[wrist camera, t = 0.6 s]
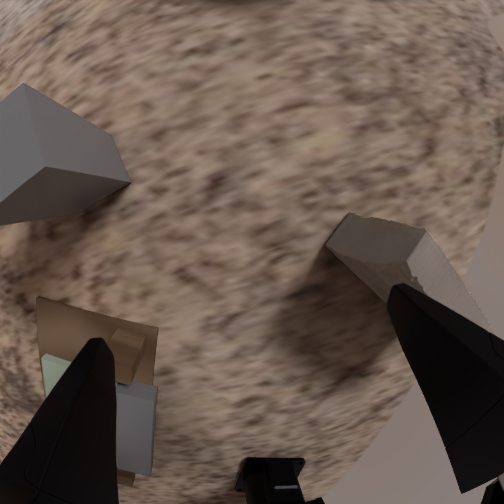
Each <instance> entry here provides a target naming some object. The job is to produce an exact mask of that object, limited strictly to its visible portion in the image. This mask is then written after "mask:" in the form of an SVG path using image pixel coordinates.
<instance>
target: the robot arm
mask: <svg viewBox="0 0 504 504" xmlns="http://www.w3.org/2000/svg"><path fill="white" fill-rule="evenodd" d="M387 311H388V313H389V316H390V318H391V321H392V324H393V326H394V329H395V332H396V334H397V337H398V340H399V342H400V345H401V347H402V350H403V352H404V354H405V356H406V358H407V360H408V362H409V364H410V367H411V369H412V371H413V373H414V375H415V377H416V379H417V382H418V384H419V386H420V388H421V390H422V392H423V395H424V397H425V399H426V402H427V404H428V406H429V409H430V411H431V413H432V416H433V418H434V421H435V423H436V426H437V428H438V430H439V433H440V436H441V438H442V440H443V443H444V446H445V447H446V448H445V449H446V451H447V454H448V457H449V459H450V462H451V465H452V468H453V471H454V474H455V477H456V480H457V483H458V486H459V489H460V491H461V494H463V493H465V492H467V491H470V490H471V489H474V488H476V487H478V486H480V485H482V484H484V483H486V482H488V481H490V480H492V479H494V478H496V477H497V479H496V480H495V481H493V482H492V483H491V484H490V485H488V486H487V487H486V490H485V493H484V496H483V499H482V502H481V504H504V340H502V339H500V338H499V337H497V336H495V335H494V334H492V333H491V332H488V331H487V330H485V329H484V328H482V327H481V326H479V325H477V324H476V323H474V322H472V321H470V320H469V319H467V318H465V317H464V316H462V315H460V314H459V313H457V312H455V311H453V310H452V309H450V308H448V307H447V306H445V305H443V304H441V303H440V302H438V301H436V300H434V299H432V298H431V297H429V296H427V295H425V294H424V293H422V292H420V291H418V290H416V289H415V288H413V287H411V286H409V285H407V284H406V283H399V284H395V285H393V286H392V287H391V290H390V294H389V297H388V301H387ZM116 418H117V397H116V381H115V359H114V355H113V353H112V351H111V350H110V348H109V346H108V345H107V343H106V342H105V340H104V339H103V338H102V337H96V338H90V339H89V340H88V341H87V342H86V344H85V345H84V346H83V348H82V349H81V350H80V352H79V353H78V354H77V356H76V357H75V358H74V360H73V361H72V362H71V364H70V365H69V366H68V368H67V369H66V371H65V372H64V373H63V375H62V376H61V378H60V379H59V380H58V382H57V383H56V385H55V386H54V387H53V389H52V390H51V392H50V393H49V395H48V396H47V397H46V399H45V400H44V402H43V403H42V405H41V406H40V408H39V409H38V411H37V412H36V414H35V415H34V417H33V418H32V420H31V422H30V423H29V424H28V426H27V427H26V429H25V430H24V432H23V433H22V435H21V436H20V438H19V439H18V441H17V442H16V444H15V445H14V446H13V448H12V449H11V451H10V452H9V453H8V455H7V456H6V457H5V459H4V460H3V461H2V463H1V464H0V504H119V500H118V485H117V461H116ZM249 461H250V462H249ZM304 464H305V459H304V458H256V457H249V458H246V459H245V462H244V464H243V467H242V470H241V473H240V475H239V478H238V481H237V484H236V486H235V491H236V492H245V495H246V501H247V504H325V503H324V502H323V499H322V498H321V497H320V498H316V499H315V500H311V501H307V502H305V500H304V497H303V494H302V491H301V488H300V485H299V482H298V479H297V477H298V476H299V474H300V472H301V470H302V468H303V466H304Z"/></svg>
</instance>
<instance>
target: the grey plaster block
mask: <svg viewBox="0 0 504 504" xmlns="http://www.w3.org/2000/svg"><path fill="white" fill-rule="evenodd" d="M325 246H326V247H327V248H328V249H329V250H330V251H331V252H333V253H334V254H335V256H336V257H337V258H338V259H339V260H341V261H342V262H343V263H344V264H345V265H346V266H347V267H348V268H349V269H350V270H351V271H352V272H353V273H355V275H356V276H357V277H358V278H360V279H361V280H362V281H363V282H364V283H365V284H366V285H367V286H368V287H369V288H370V289H371V290H372V291H374V292H375V294H376V295H377V296H379V297H380V298H381V299H382V300H383V301H384V302H385V303H386V304H387V301H388V297H389V294H390V290H391V287H392V286H393V285H395V284H399V283H406V284H407V285H409V286H411V287H413V288H415V289H416V290H418V291H420V292H422V293H424V294H425V295H427V296H429V297H431V298H432V299H434V300H436V301H438V302H440V303H441V304H443V305H445V306H447V307H448V308H450V309H452V310H453V311H455V312H457V313H459V314H460V315H462V316H464V317H465V318H467V319H469V320H470V321H472V322H474V323H476V324H477V325H479V326H481V327H482V328H484V329H485V330H487V331H488V332H491V333H492V334H493V330H492V328H491V326H490V324H489V323H488V320H487V319H486V317H485V315H484V314H483V313H482V310H481V309H480V307H479V306H478V305H477V303H476V301H475V300H474V299H473V296H472V294H471V293H470V292H469V290H468V289H467V287H466V286H465V284H464V282H463V281H462V279H461V278H460V277H459V274H458V273H457V272H456V271H455V269H454V267H453V265H452V264H451V263H450V261H449V260H448V259H447V258H446V256H445V254H444V252H443V250H442V249H441V248H440V247H439V245H438V244H437V242H436V241H435V240H434V238H433V236H432V235H431V233H430V232H429V231H428V230H426V229H425V228H420V227H418V226H412V225H408V224H405V223H400V222H396V221H392V220H391V221H388V220H386V219H380V218H374V217H370V218H364V217H363V216H359V215H357V214H355V213H351V212H349V213H348V215H347V216H346V217H345V219H344V220H343V221H342V223H341V224H340V225H339V227H338V228H337V229H336V230H335V232H334V233H333V235H332V236H331V237H330V239H329V240H328V241H327V243H326V244H325Z"/></svg>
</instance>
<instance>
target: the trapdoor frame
mask: <svg viewBox="0 0 504 504" xmlns="http://www.w3.org/2000/svg"><path fill="white" fill-rule="evenodd" d="M36 302H37V330H38V344H39V355H40V364H41V373H42V380H43V387H44V393H45V399H46V390H45V384H44V377H43V369H42V360H41V358H42V357H43V356H44V355H45V354H49V355H52V356H55V357H58V358H61V359H63V360H66V361H69V362H72V361H73V360H74V358H75V357H76V356H77V354H78V353H79V352H80V350H81V349H82V348H83V346H84V345H85V344H86V342H87V341H88V340H89V339H90V338H96V337H102V338H103V339H104V340H105V342H106V343H107V345H108V346H109V348H110V350H111V351H112V353H113V355H114V359H115V381H116V382H119V383H123V384H127V385H131V384H132V382H133V381H135V382H139V383H143V384H148V385H152V386H153V375H154V364H155V354H156V345H157V336H158V328H157V327H152V326H148V325H143V324H139V323H135V322H130V321H126V320H122V319H118V318H114V317H110V316H106V315H102V314H98V313H95V312H91V311H87V310H84V309H80V308H77V307H73V306H70V305H66V304H63V303H60V302H56V301H53V300H50V299H47V298H43V297H40V296H38V297H36ZM134 478H135V473H134V472H129V471H125V470H121V469H118V467H117V483H119V484H123V485H127V486H131V487H133V483H134Z"/></svg>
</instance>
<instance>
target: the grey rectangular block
mask: <svg viewBox="0 0 504 504" xmlns="http://www.w3.org/2000/svg"><path fill="white" fill-rule="evenodd" d="M129 183H131V180H130V178H129V176H128V173H127V171H126V169H125V166H124V164H123V161H122V159H121V157H120V154H119V152H118V149H117V147H116V144H115V142H114V139H113V137H112V135H110V134H109V133H107V132H105V131H104V130H102V129H101V128H99V127H97V126H96V125H94V124H92V123H91V122H89V121H87V120H86V119H84V118H82V117H81V116H79V115H77V114H76V113H74V112H72V111H71V110H69V109H67V108H66V107H64V106H62V105H61V104H59V103H57V102H56V101H54V100H52V99H51V98H49V97H47V96H45V95H44V94H42V93H40V92H39V91H37V90H35V89H33V88H32V87H30V86H28V85H27V84H25V83H23V84H21V85H20V86H19V87H18V88H16V89H15V90H14V91H13V92H12V93H10V94H9V95H8V96H7V97H6V98H5V99H4V100H2V101H1V102H0V226H2V225H8V224H14V223H20V222H26V221H32V220H39V219H46V218H53V217H60V216H67V215H74V214H78V213H80V212H81V211H83V210H85V209H86V208H88V207H90V206H91V205H93V204H95V203H96V202H98V201H100V200H101V199H103V198H105V197H106V196H108V195H110V194H112V193H113V192H115V191H117V190H119V189H120V188H122V187H124V186H126V185H128V184H129Z"/></svg>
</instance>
